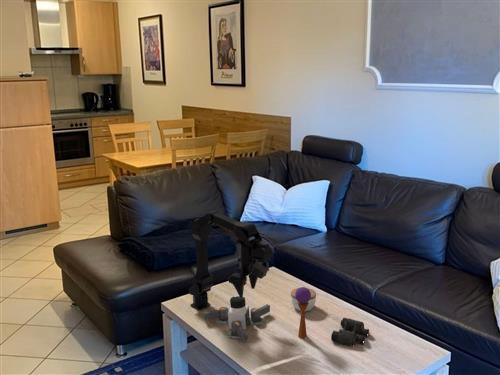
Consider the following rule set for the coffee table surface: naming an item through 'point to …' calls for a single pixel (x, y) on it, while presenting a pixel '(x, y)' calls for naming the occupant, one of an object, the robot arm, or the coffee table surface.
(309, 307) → the white bowl
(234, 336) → the tribrach plate
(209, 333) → the coffee table surface
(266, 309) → the foot screw
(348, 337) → the binoculars
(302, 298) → the kendama
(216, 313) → the foot screw
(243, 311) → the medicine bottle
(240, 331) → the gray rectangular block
